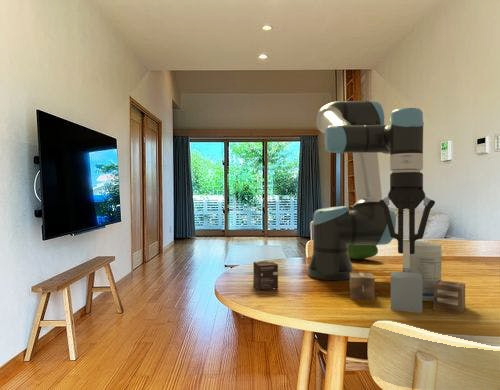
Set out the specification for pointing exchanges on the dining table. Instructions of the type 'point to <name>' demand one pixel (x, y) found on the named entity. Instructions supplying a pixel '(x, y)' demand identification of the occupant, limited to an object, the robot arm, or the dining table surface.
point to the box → (265, 275)
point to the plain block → (406, 291)
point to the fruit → (362, 251)
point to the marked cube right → (449, 296)
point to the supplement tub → (426, 266)
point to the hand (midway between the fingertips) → (406, 266)
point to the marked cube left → (362, 286)
